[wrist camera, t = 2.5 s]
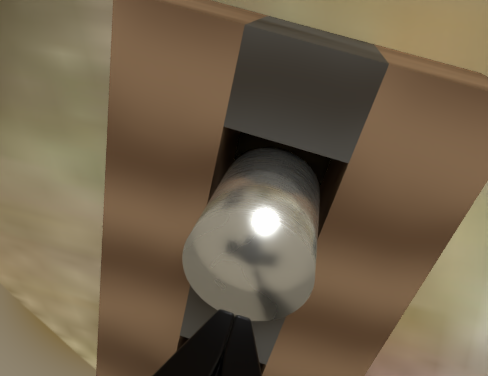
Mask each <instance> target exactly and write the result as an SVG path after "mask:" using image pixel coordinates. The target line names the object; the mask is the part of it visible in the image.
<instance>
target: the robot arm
mask: <svg viewBox="0 0 488 376" xmlns="http://www.w3.org/2000/svg"><path fill="white" fill-rule="evenodd" d="M233 319H234V320H233ZM232 322H233V323H232ZM230 329H231V330H230ZM229 332H230V333H229ZM228 335H229V336H228ZM226 342H227V343H226ZM225 345H226V346H225ZM222 355H223V356H222ZM221 358H222V359H221ZM219 365H220V366H219ZM218 368H219V369H218ZM217 371H218V372H217ZM152 376H262V374H261V369H260V364H259V358H258V353H257V348H256V342H255V337H254V332H253V326H252V322H251V319H250V318H247V317H244V316H241V315H238V314H237V315H235V317H234V313H232V312H229V311H226V310H223V309H219V310H218V311H216V312H215V313H214V314H213V315H212V316H211V317H210V318H209V319H208V320H207V321H206V322H205V323H204V324H203V325H202V326H201V327H200V328H199V329H198V330H197V331H196V332H195V333H194V334H193V335H192V336H191V337H190V338H189V339H188V340H187V341H186V342H185V343H184V344H183V345H182V346H181V347H180V348H179V349H178V350H177V351H176V352H175V353H174V354H173V355H172V356H171V357H170V358H169V359H168V360H167V361H166V362H165V363H164V364H163V365H162V366H161V367H160V368H159V369H158V370H157V371H156V372H155V373H154V374H153V375H152Z"/></svg>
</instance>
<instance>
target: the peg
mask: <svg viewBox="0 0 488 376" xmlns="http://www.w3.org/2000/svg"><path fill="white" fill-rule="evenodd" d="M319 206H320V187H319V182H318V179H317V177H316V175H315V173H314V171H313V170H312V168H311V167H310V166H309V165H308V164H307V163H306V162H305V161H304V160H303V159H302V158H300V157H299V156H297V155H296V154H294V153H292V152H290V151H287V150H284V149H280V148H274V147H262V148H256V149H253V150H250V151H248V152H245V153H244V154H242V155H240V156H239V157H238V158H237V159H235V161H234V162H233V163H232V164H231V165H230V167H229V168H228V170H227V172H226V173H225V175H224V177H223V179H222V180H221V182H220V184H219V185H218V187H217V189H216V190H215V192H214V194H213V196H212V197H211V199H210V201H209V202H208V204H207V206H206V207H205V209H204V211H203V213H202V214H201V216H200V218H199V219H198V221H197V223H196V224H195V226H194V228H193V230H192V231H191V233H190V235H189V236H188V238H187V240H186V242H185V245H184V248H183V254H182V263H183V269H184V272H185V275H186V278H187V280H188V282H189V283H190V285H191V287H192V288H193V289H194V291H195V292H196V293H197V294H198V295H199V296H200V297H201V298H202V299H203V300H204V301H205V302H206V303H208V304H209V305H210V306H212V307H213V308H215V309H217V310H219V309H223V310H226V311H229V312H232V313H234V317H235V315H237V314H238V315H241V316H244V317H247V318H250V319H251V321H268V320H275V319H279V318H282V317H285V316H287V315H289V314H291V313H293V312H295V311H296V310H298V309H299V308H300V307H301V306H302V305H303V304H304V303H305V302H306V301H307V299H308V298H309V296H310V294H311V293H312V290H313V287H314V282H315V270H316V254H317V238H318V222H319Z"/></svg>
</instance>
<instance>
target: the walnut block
mask: <svg viewBox="0 0 488 376" xmlns="http://www.w3.org/2000/svg"><path fill="white" fill-rule="evenodd" d="M240 132H244V133H247V134H251V135H254V136H258V137H261V138H264V139H268V140H271V141H275V142H278V143H281V144H285V145H288V146H292V147H295V148H298V149H302V150H305V151H308V152H312V153H315V154H319V155H322V156H325V157H329V158H331V160H330V163H329V165H328V168H327V170H326V173H325V176H324V178H323V181H322V184H321V186H320V206H319V222H318V238H317V254H316V270H315V282H314V287H313V290H312V293H311V294H310V296H309V298H308V299H307V301H306V302H305V303H304V304H303V305H302V306H301V307H300V308H299V309H298V310H296V311H295V312H293V313H291V314H289V315H287V316H285V317H282V318H279V319H275V320H268V321H251V322H252V326H253V332H254V337H255V342H256V348H257V353H258V358H259V364H260V369H261V374H262V376H364V375H365V374H366V372H367V370H368V369H369V367H370V366H371V364H372V363H373V361H374V359H375V358H376V356H377V355H378V353H379V351H380V350H381V348H382V347H383V345H384V344H385V342H386V340H387V339H388V337H389V336H390V334H391V332H392V331H393V329H394V328H395V326H396V325H397V323H398V321H399V320H400V318H401V317H402V315H403V313H404V312H405V310H406V309H407V307H408V306H409V304H410V302H411V301H412V299H413V298H414V296H415V294H416V293H417V291H418V290H419V288H420V287H421V285H422V283H423V282H424V280H425V279H426V277H427V275H428V274H429V272H430V271H431V269H432V268H433V266H434V264H435V263H436V261H437V260H438V258H439V257H440V255H441V253H442V252H443V250H444V249H445V247H446V245H447V244H448V242H449V241H450V239H451V238H452V236H453V234H454V233H455V231H456V230H457V228H458V226H459V225H460V223H461V222H462V220H463V219H464V217H465V215H466V214H467V212H468V211H469V209H470V207H471V206H472V204H473V203H474V201H475V200H476V198H477V196H478V195H479V193H480V192H481V190H482V188H483V187H484V185H485V184H486V182H487V181H488V77H486V76H485V75H483V74H481V73H478V72H474V71H470V70H467V69H463V68H459V67H456V66H452V65H448V64H445V63H441V62H437V61H433V60H430V59H426V58H422V57H419V56H415V55H411V54H407V53H404V52H400V51H396V50H393V49H389V48H385V47H382V46H378V45H374V44H370V43H367V42H363V41H359V40H356V39H352V38H348V37H344V36H341V35H337V34H333V33H330V32H326V31H322V30H319V29H315V28H311V27H307V26H304V25H300V24H296V23H293V22H289V21H285V20H282V19H278V18H274V17H270V16H267V15H263V14H259V13H256V12H252V11H248V10H244V9H241V8H237V7H233V6H230V5H226V4H222V3H219V2H215V1H211V0H113V17H112V39H111V61H110V83H109V105H108V127H107V149H106V171H105V193H104V215H103V237H102V259H101V281H100V303H99V325H98V347H97V369H96V376H152V375H153V374H154V373H155V372H156V371H157V370H158V369H159V368H160V367H161V366H162V365H163V364H164V363H165V362H166V361H167V360H168V359H169V358H170V357H171V356H172V355H173V354H174V353H175V352H176V351H177V350H178V349H179V348H180V347H181V346H182V345H183V344H184V343H185V342H186V341H187V340H188V339H189V338H190V337H191V336H192V335H193V334H194V333H195V332H196V331H197V330H198V329H199V328H200V327H201V326H202V325H203V324H204V323H205V322H206V321H207V320H208V319H209V318H210V317H211V316H212V315H213V314H214V313H215V312H216V311H218V310H217V309H215V308H213V307H212V306H210V305H209V304H208V303H206V302H205V301H204V300H203V299H202V298H201V297H200V296H199V295H198V294H197V293H196V292H195V291H194V289H193V288H192V287H191V285H190V283H189V282H188V280H187V278H186V275H185V272H184V269H183V263H182V254H183V248H184V245H185V242H186V240H187V238H188V236H189V235H190V233H191V231H192V230H193V228H194V226H195V224H196V223H197V221H198V219H199V218H200V216H201V214H202V213H203V211H204V209H205V207H206V206H207V204H208V202H209V201H210V199H211V197H212V196H213V194H214V192H215V190H216V189H217V187H218V185H219V184H220V182H221V180H222V179H223V177H224V175H225V173H226V172H227V170H228V168H229V167H230V165H231V164H232V163H233V161H234V157H235V153H236V149H237V144H238V140H239V136H240ZM233 320H234V319H233ZM232 323H233V322H232ZM230 330H231V329H230ZM229 333H230V332H229ZM228 336H229V335H228ZM226 343H227V342H226ZM225 346H226V345H225Z"/></svg>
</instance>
